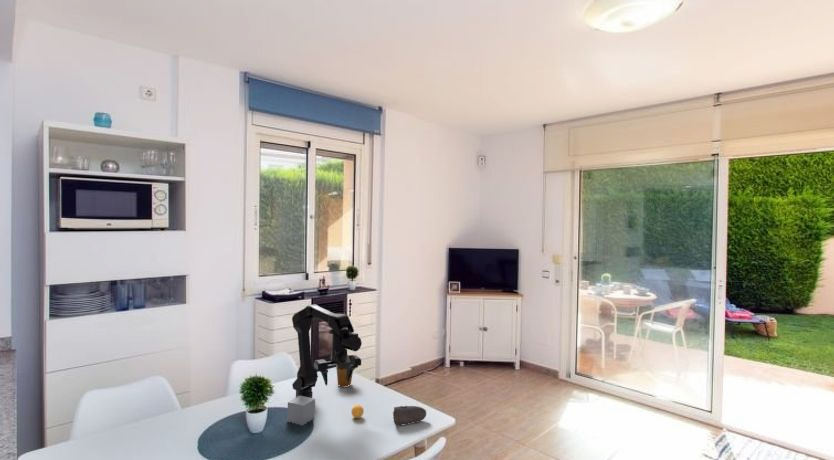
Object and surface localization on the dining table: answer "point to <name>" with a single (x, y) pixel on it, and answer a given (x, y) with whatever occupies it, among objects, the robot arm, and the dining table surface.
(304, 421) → the grey cube
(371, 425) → the dining table surface
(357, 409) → the ball
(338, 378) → the disposable coffee cup
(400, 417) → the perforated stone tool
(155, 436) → the dining table surface
